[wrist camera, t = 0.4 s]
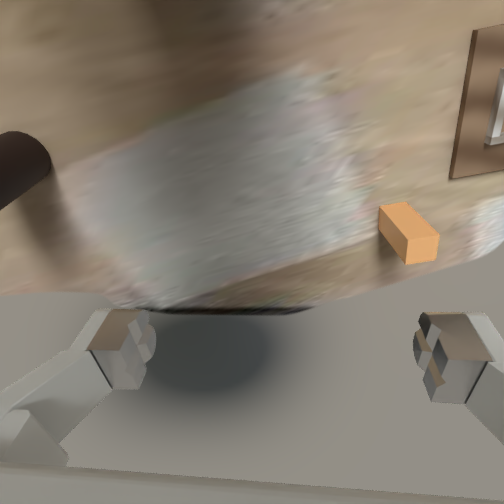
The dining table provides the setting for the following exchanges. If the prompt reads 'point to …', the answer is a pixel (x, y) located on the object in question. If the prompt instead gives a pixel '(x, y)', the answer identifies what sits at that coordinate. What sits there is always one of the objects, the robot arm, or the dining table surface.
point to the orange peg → (408, 233)
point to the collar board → (481, 107)
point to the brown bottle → (20, 165)
